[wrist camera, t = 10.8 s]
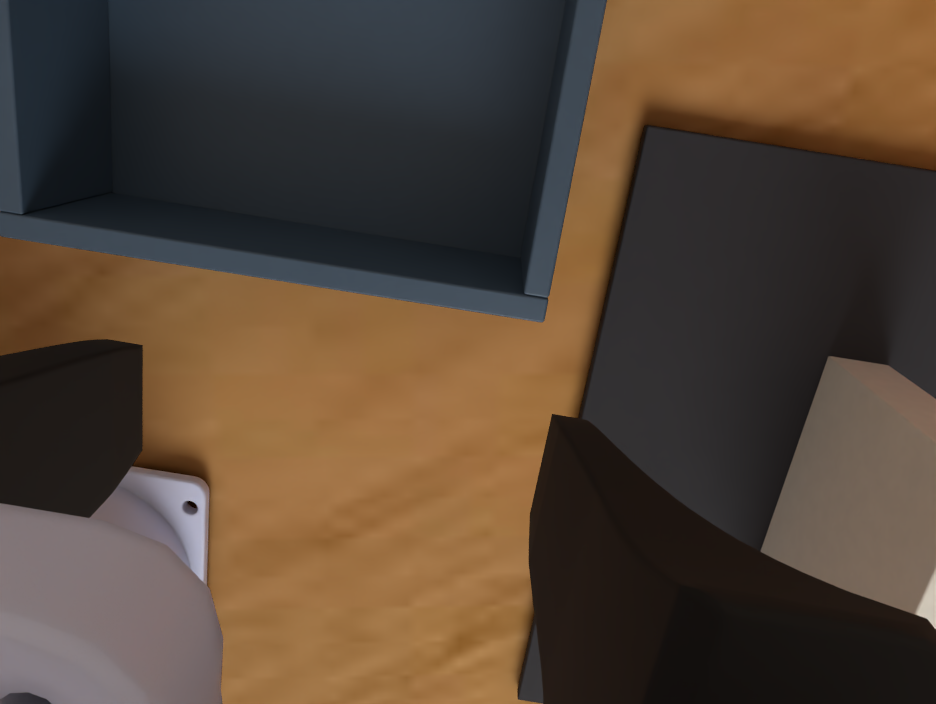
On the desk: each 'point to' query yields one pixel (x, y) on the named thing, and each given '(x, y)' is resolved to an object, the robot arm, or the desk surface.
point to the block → (864, 489)
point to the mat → (750, 313)
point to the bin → (303, 138)
